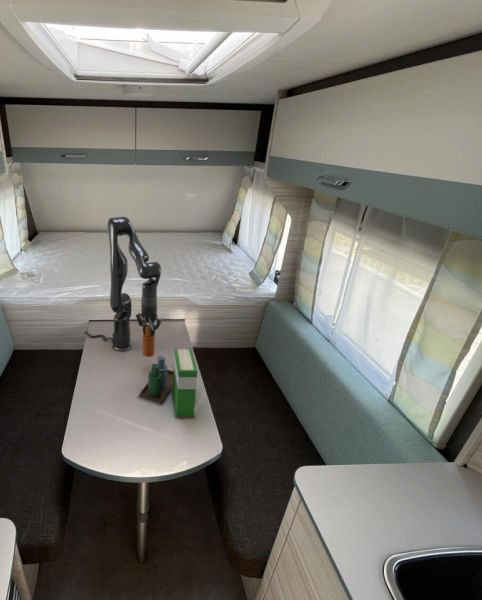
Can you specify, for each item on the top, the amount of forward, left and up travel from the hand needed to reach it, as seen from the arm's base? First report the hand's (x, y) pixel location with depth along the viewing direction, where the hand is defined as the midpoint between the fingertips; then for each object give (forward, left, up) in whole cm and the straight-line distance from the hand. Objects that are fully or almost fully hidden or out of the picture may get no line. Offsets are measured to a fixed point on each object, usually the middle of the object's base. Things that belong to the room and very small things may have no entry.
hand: (148, 334), depth 162 cm
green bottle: (+11, -16, -21) cm, 29 cm away
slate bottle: (+11, -9, -21) cm, 25 cm away
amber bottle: (0, 0, -11) cm, 11 cm away
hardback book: (+25, -15, -22) cm, 36 cm away
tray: (+11, -9, -22) cm, 26 cm away
